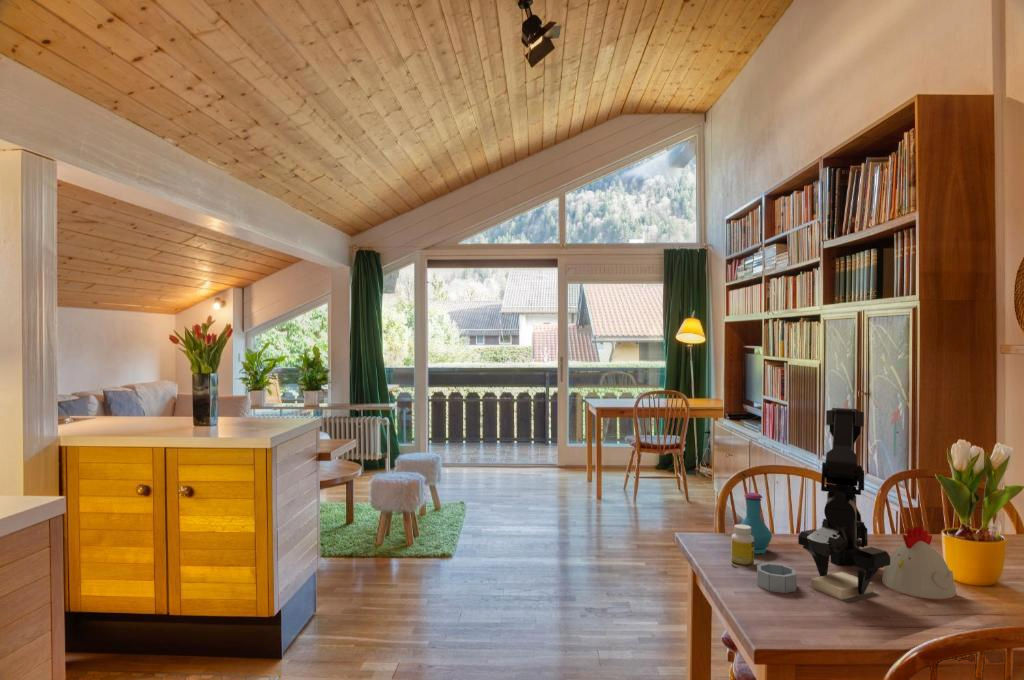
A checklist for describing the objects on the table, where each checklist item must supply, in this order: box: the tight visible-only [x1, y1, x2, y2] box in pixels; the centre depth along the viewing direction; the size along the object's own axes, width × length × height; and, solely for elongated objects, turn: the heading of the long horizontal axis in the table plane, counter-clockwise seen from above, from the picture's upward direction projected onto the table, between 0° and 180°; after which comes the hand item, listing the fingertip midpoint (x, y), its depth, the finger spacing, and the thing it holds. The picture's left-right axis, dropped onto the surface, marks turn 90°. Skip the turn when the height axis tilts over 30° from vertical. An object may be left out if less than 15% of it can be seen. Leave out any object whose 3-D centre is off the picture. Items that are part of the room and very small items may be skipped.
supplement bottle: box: [730, 523, 755, 569], centre depth 159 cm, size 5×5×10 cm
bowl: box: [756, 562, 797, 594], centre depth 142 cm, size 8×8×5 cm
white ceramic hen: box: [881, 525, 957, 601], centre depth 141 cm, size 14×14×15 cm
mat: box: [806, 584, 879, 603], centre depth 139 cm, size 10×10×2 cm
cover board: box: [810, 571, 874, 601], centre depth 139 cm, size 10×8×2 cm
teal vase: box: [740, 492, 772, 554], centre depth 171 cm, size 9×9×15 cm
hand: (841, 586), depth 139 cm, fingers open, 9 cm apart
